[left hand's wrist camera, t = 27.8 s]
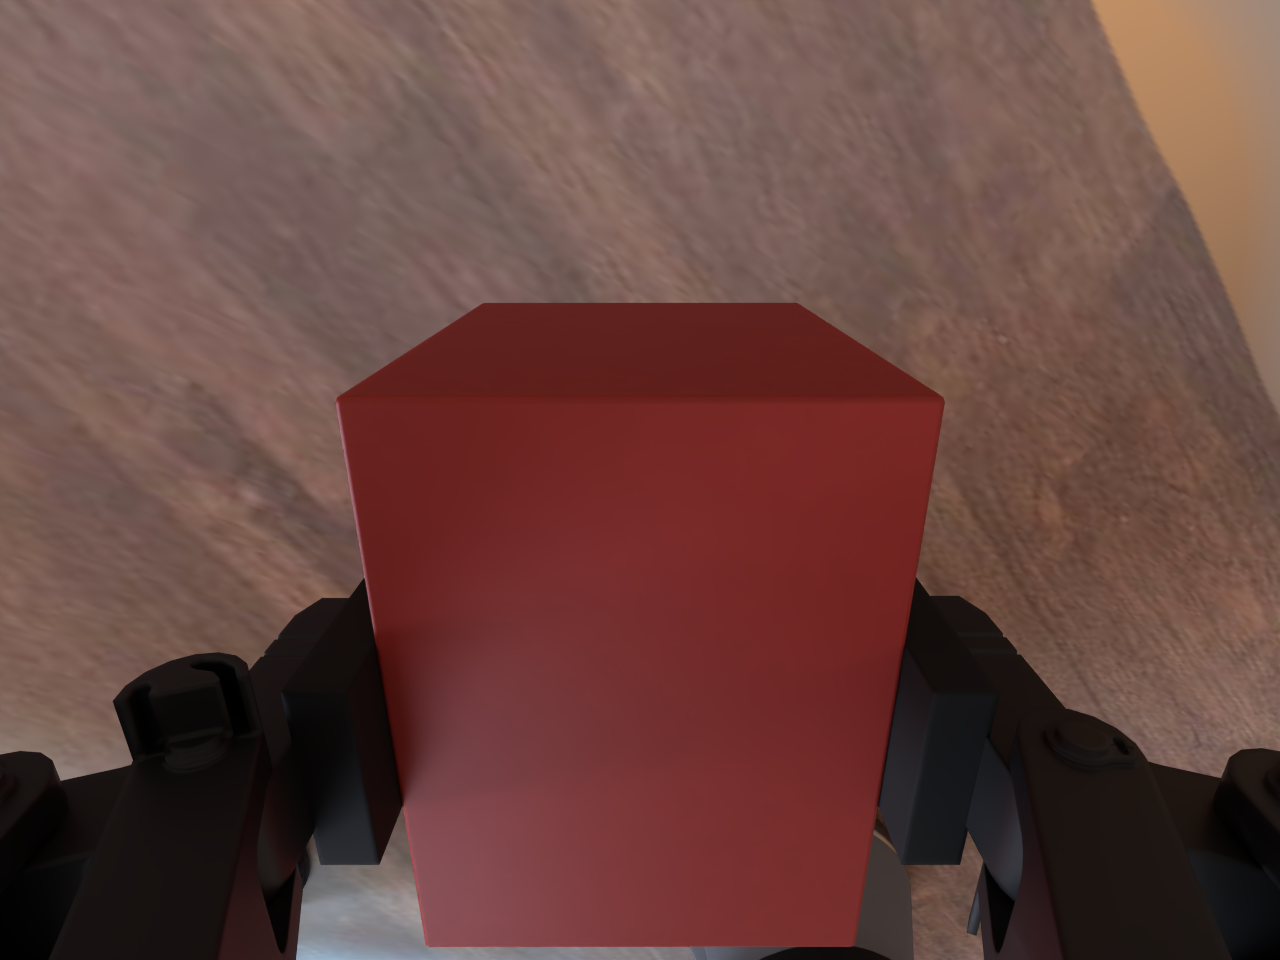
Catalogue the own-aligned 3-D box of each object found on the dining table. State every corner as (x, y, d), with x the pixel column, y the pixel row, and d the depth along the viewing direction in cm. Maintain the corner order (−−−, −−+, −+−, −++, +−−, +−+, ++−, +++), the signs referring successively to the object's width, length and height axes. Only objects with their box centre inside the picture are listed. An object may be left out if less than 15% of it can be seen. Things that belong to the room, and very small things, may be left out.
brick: (481, 302, 15) (332, 397, 8) (799, 302, 15) (948, 397, 8) (509, 652, 18) (424, 949, 11) (770, 652, 18) (856, 949, 11)
